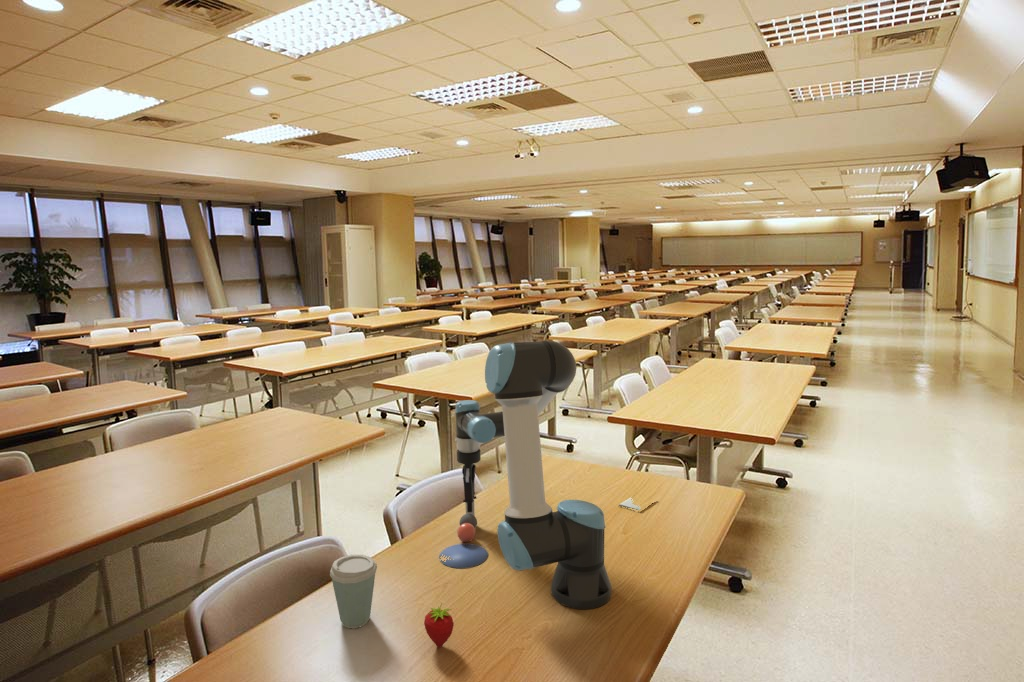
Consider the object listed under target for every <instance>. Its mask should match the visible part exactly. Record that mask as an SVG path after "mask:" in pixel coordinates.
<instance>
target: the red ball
mask: <svg viewBox="0 0 1024 682" xmlns="http://www.w3.org/2000/svg"><path fill="white" fill-rule="evenodd" d="M475 536H476V528H474V526H473V525H472V524H470V523H464V524H462V525H460V524H459V526H458V529H457V537H458V539H459V540H460V541H461V542H464V543H468V542H472V541H473V539H475Z"/></svg>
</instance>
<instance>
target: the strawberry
mask: <svg viewBox="0 0 1024 682" xmlns="http://www.w3.org/2000/svg"><path fill="white" fill-rule="evenodd" d="M442 605H443V603H442V602H441V604H440V606H437V608H434V607H430V609H431V610H429V612H428V613H427V614H426V615H425V617H424V623H423V625H424V629H425V631H426V634H427V635H428V637H429V639H430V641H432V643H433V644H434V645H435V646H436V647H437V648H441V647H443V645H444V644H445V643H446V642H447V641H448V640H449V639H450V638H451V635H452V633H453V629H454V626H455V625H454V620H453V617H452V615H451V614H450V613H448V612H449V611H452V608H444V609H441V608H442Z"/></svg>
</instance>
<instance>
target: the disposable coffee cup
mask: <svg viewBox="0 0 1024 682" xmlns="http://www.w3.org/2000/svg"><path fill="white" fill-rule="evenodd" d="M377 565H378V564H377V562H376V561H375V560H374V558H372V557H370V556H369V555H364V554H349V555H344V556H341V557H339V558H338V559H335V560H334V561H333V563H332V564H331V568H330V571H329V576H330V578H331V582H332V586H333V591H334V596H335V602H336V605H337V610H338V615H339V620H340V622H341V624H342V626H343V627H344V628H347V629H350V628H352V629H359V628H361V627H360V626H362V627H364V626H365V625H366V624H368V623H369V620H370V618H371V611H372V605H373V604H372V603H373V596H374V587H375V579H376V572H377V569H378V566H377ZM363 625H364V626H363ZM358 627H359V628H358Z"/></svg>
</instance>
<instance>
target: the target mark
mask: <svg viewBox="0 0 1024 682" xmlns="http://www.w3.org/2000/svg"><path fill="white" fill-rule="evenodd" d="M442 554H443V556H444V555H445V557H446V556H447V558H448V557H449V556H450V557H449V560H448V559H447V558H446V559H447V560H446V562H444V561H445V560H444V561H442V560H441V561H440V563H441V562H442V563H443V564H442V563H441V564H442V565H444V564H445V565H444V566H446V567H448V566H449V567H450V568H453V569H470V568H474V567H476V566H478V565H481V564H483V563H484V562H485V561H486V560H487V559H488V557H489V555H488V554H489V553H488V551H487V549H486V548H485V547H483V546H481V545H479V544H476V543H458V544H453V545H450V546H448V547H446V548H444V549H443V550H442V551H441V552H440V553H439V556H438V559H441V558H440V557H441V556H442ZM443 556H442V557H443ZM445 557H444V558H445ZM450 559H451V560H450ZM453 559H454V560H453ZM449 567H448V568H449Z"/></svg>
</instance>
